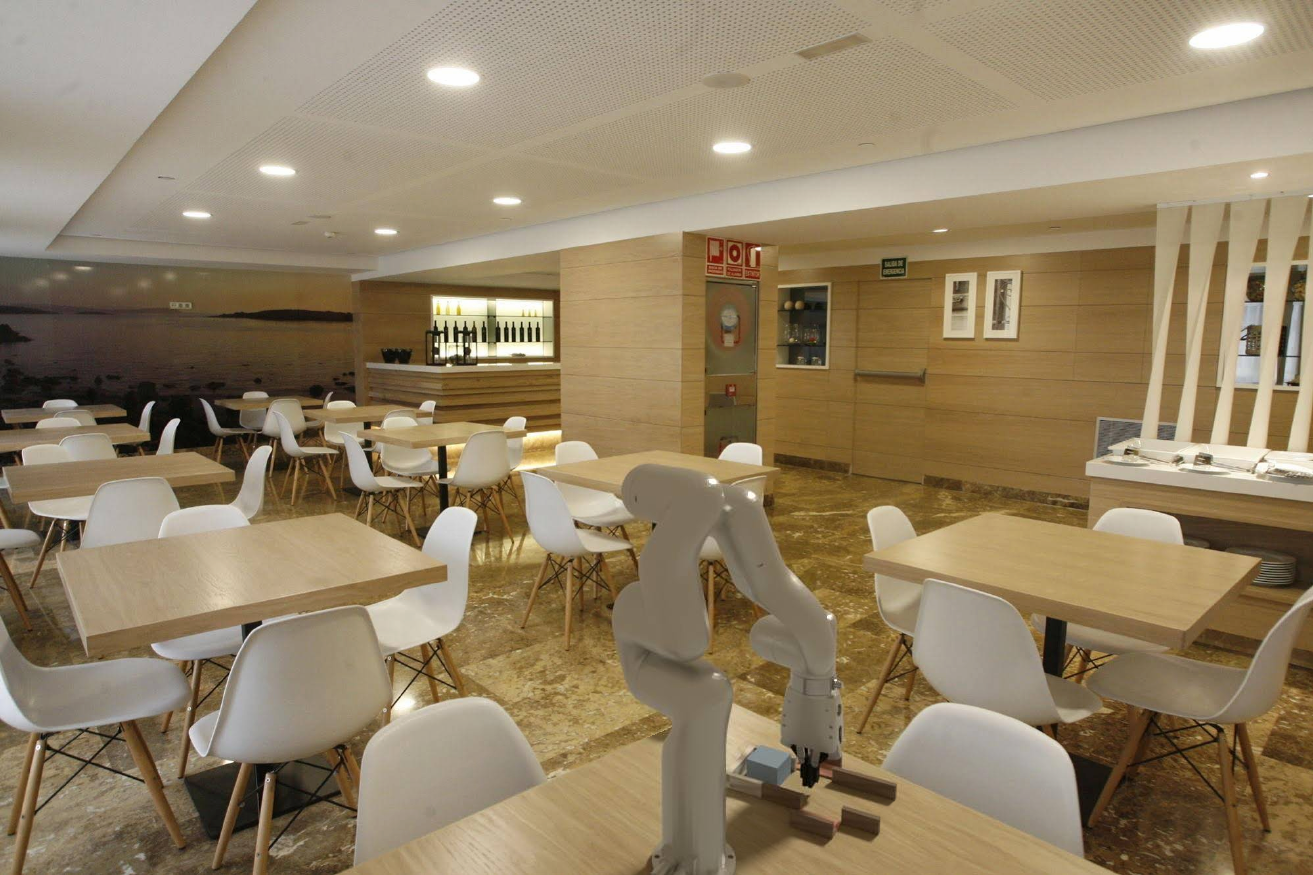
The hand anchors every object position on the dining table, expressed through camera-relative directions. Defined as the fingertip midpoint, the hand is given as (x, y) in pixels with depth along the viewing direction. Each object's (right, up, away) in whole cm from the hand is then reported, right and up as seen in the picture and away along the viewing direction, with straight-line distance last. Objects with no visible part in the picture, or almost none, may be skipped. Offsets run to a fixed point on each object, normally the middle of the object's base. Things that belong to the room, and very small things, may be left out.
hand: (809, 783), depth 132 cm
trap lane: (0, -2, +1) cm, 2 cm away
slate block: (-6, -2, +6) cm, 9 cm away
